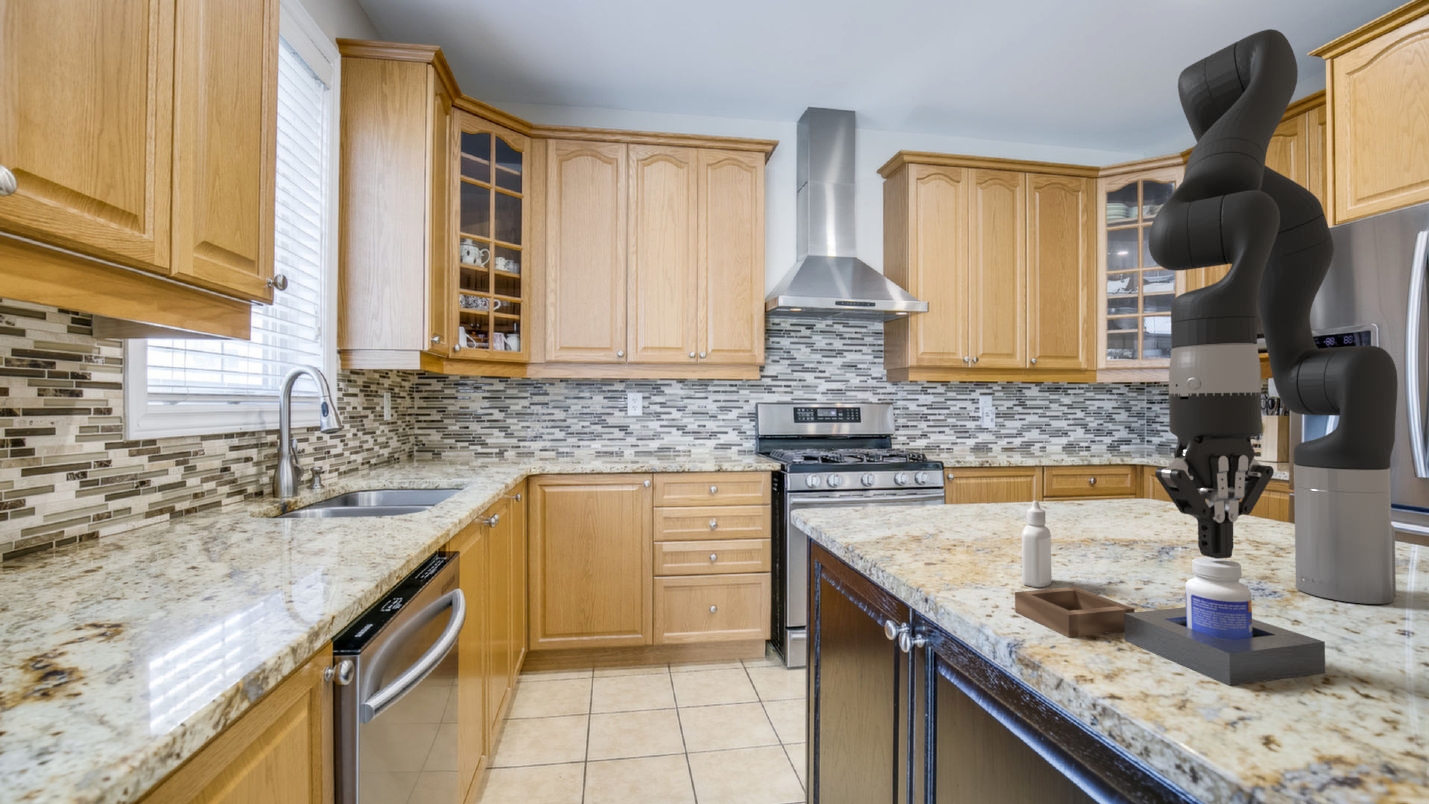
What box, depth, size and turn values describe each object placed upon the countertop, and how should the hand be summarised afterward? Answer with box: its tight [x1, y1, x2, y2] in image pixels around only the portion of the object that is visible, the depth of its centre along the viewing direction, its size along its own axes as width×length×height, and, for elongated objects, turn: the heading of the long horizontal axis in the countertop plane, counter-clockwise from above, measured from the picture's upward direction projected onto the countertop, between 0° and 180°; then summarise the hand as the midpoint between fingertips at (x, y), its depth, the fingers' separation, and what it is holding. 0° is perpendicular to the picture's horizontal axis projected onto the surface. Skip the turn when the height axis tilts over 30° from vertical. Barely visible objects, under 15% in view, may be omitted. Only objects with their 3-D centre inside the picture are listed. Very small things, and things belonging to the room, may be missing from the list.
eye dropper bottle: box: [1021, 500, 1053, 589], centre depth 92 cm, size 4×6×12 cm
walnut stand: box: [1014, 586, 1136, 638], centre depth 76 cm, size 9×9×2 cm
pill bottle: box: [1184, 557, 1253, 641], centre depth 65 cm, size 5×5×10 cm
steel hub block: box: [1124, 606, 1326, 686], centre depth 65 cm, size 12×12×3 cm
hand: (1215, 556), depth 65 cm, fingers closed
